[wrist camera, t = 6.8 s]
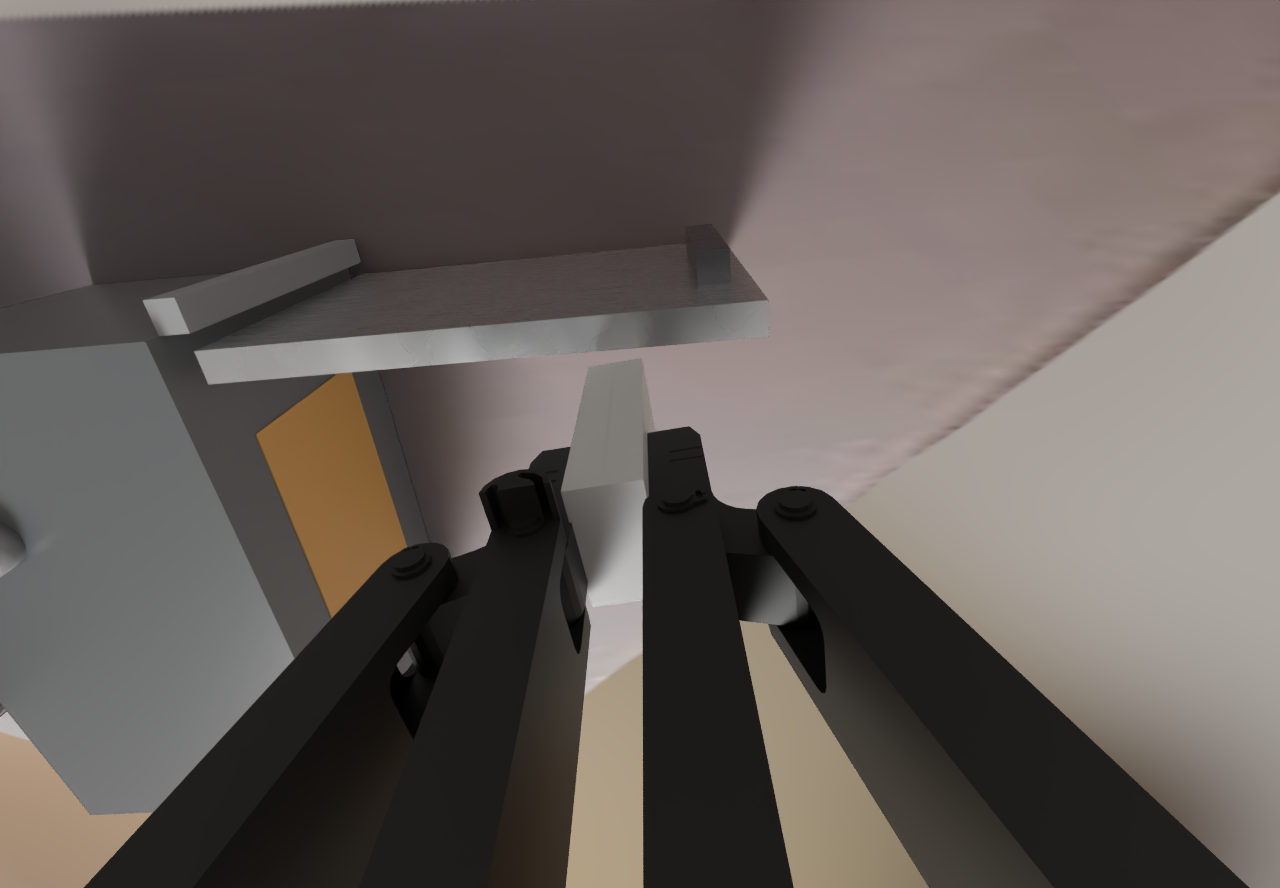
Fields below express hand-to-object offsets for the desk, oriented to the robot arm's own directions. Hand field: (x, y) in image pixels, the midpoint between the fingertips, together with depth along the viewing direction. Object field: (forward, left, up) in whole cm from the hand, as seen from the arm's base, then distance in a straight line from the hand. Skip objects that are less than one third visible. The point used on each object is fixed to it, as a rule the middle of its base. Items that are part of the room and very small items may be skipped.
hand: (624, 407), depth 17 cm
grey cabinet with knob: (-8, -18, -12) cm, 23 cm away
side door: (-5, -1, -11) cm, 12 cm away
